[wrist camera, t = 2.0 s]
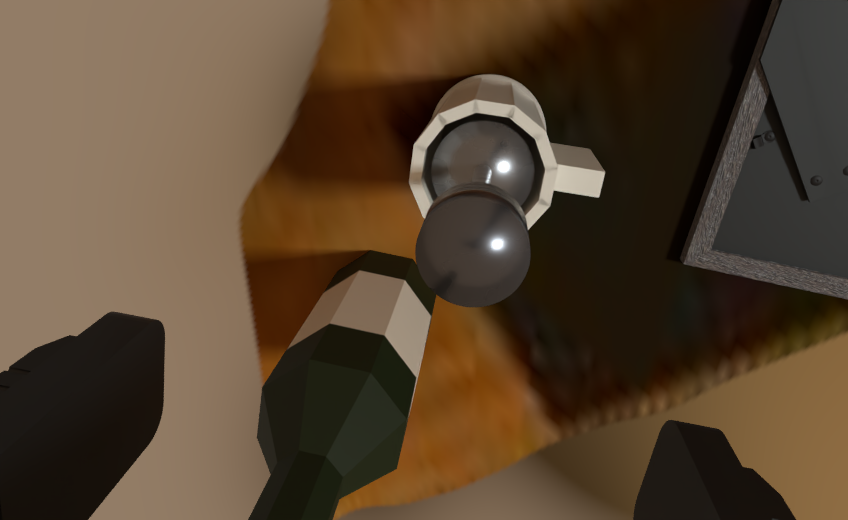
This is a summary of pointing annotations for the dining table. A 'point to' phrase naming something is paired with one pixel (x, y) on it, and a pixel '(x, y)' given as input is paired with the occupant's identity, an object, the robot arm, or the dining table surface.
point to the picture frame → (784, 159)
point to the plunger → (477, 215)
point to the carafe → (525, 116)
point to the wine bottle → (344, 389)
